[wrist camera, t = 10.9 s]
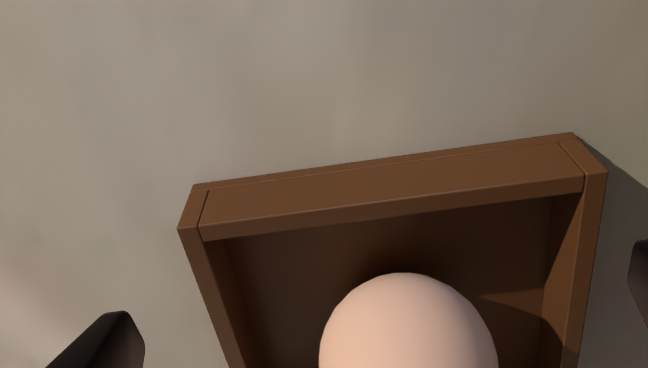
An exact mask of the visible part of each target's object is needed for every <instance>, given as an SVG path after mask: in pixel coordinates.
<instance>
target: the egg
mask: <svg viewBox="0 0 648 368" xmlns="http://www.w3.org/2000/svg"><path fill="white" fill-rule="evenodd" d="M319 368H499V366H498V357H497V353H496V350H495V346H494V343H493V339H492V336H491V334H490V332H489V330H488V328H487V326H486V324H485V323H484V321H483V319H482V318H481V316H480V314H479V313H478V311H477V310H476V308H475V307H474V306H473V305H472V304H471V302H470V301H468V300H467V299H466V298H465V297H463V296H462V295H461V294H460V293H458V292H457V291H456V290H455V289H454V288H452V287H451V286H449V285H447V284H445V283H442V282H440V281H438V280H436V279H433V278H431V277H429V276H426V275H421V274H415V273H391V274H386V275H381V276H378V277H376V278H374V279H371V280H369V281H367V282H365V283H363V284H361V285H360V286H358V287H356V288H355V289H353V290H352V291H351V292H350V293H349V294H348V295H347V296H346V297H345V298H344V299H343V300H342V301H341V302H340V303H339V304H338V305H337V306H336V308H335V309H334V311H333V313H332V315H331V316H330V318H329V320H328V322H327V324H326V326H325V329H324V332H323V336H322V339H321V342H320V352H319Z"/></svg>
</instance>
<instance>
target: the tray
mask: <svg viewBox="0 0 648 368" xmlns="http://www.w3.org/2000/svg"><path fill="white" fill-rule="evenodd" d="M607 178H608V170H607V169H606V168H605V167H604V166H603V165H602V164H601V162H600V161H599V160H598V159H597V158H596V157H595V156H594V155H593V154H592V153H591V152H590V151H589V150H588V149H587V147H586V146H585V145H584V144H583V143H582V142H581V141H580V140H579V139H578V138H577V137H576V136H575V134H574V133H573V132H569V133H561V134H554V135H547V136H540V137H533V138H525V139H518V140H511V141H504V142H497V143H490V144H482V145H475V146H468V147H461V148H454V149H446V150H439V151H432V152H425V153H418V154H410V155H403V156H396V157H389V158H382V159H375V160H367V161H360V162H353V163H346V164H339V165H331V166H324V167H317V168H310V169H303V170H295V171H288V172H281V173H274V174H267V175H259V176H252V177H245V178H238V179H231V180H224V181H216V182H209V183H202V184H195V185H193V186H192V189H191V193H190V194H189V197H188V200H187V202H186V205H185V208H184V210H183V213H182V216H181V218H180V221H179V224H178V226H177V231H178V234H179V236H180V239H181V242H182V244H183V247H184V250H185V252H186V255H187V258H188V260H189V263H190V265H191V268H192V271H193V273H194V276H195V279H196V281H197V284H198V287H199V289H200V292H201V295H202V297H203V300H204V302H205V305H206V308H207V310H208V313H209V316H210V318H211V321H212V324H213V326H214V329H215V331H216V334H217V337H218V339H219V342H220V345H221V347H222V350H223V353H224V355H225V358H226V360H227V363H228V366H229V368H319V352H320V342H321V339H322V336H323V332H324V329H325V326H326V324H327V322H328V320H329V318H330V316H331V315H332V313H333V311H334V309H335V308H336V306H337V305H338V304H339V303H340V302H341V301H342V300H343V299H344V298H345V297H346V296H347V295H348V294H349V293H350V292H351V291H352V290H353V289H355V288H356V287H358V286H360V285H361V284H363V283H365V282H367V281H369V280H371V279H374V278H376V277H378V276H381V275H386V274H391V273H415V274H421V275H426V276H429V277H431V278H433V279H436V280H438V281H440V282H442V283H445V284H447V285H449V286H451V287H452V288H454V289H455V290H456V291H457V292H458V293H460V294H461V295H462V296H463V297H465V298H466V299H467V300H468V301H470V302H471V304H472V305H473V306H474V307H475V308H476V310H477V311H478V313H479V314H480V316H481V318H482V319H483V321H484V323H485V324H486V326H487V328H488V330H489V332H490V334H491V336H492V339H493V343H494V346H495V350H496V353H497V357H498V366H499V368H577V365H578V358H579V352H580V346H581V340H582V334H583V327H584V321H585V315H586V309H587V303H588V296H589V290H590V284H591V278H592V272H593V265H594V259H595V253H596V247H597V240H598V234H599V228H600V222H601V216H602V209H603V203H604V197H605V191H606V185H607Z"/></svg>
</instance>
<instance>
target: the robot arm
mask: <svg viewBox="0 0 648 368" xmlns="http://www.w3.org/2000/svg"><path fill="white" fill-rule="evenodd" d="M628 285H629V288H630V291H631V293H632V295H633V297H634V300H635V302H636V304H637V306H638V308H639V310H640V312H641V315H642V317H643V319H644V321H645V323H646V325H647V328H648V239H646V240H640V241H637V242H636V243H635V244H634V246H633V250H632V256H631V261H630V266H629V272H628ZM144 355H145V344H144V340H143V338H142V336H141V334H140V332H139V331H138V329H137V327H136V325H135V323H134V321H133V319H132V317H131V316H130V314H129V313H128V312H126V311H116V312H109V313H105V314H103V315H101V316H100V317H99V318H98V319H97V320H96V321H95V322H94V323H93V324H92V325H91V326H89V327H88V328H87V329H86V330H85V331H84V332H83V333H82V334H81V335H80V336H79V337H78V338H77V339H75V340H74V341H73V342H72V343H71V344H70V345H69V346H68V347H67V348H66V349H65V350H64V351H63V352H62V353H60V354H59V355H58V356H57V357H56V358H55V359H54V360H53V361H52V362H51V363H50V364H49V365H48V366H47V367H45V368H143V362H144Z"/></svg>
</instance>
